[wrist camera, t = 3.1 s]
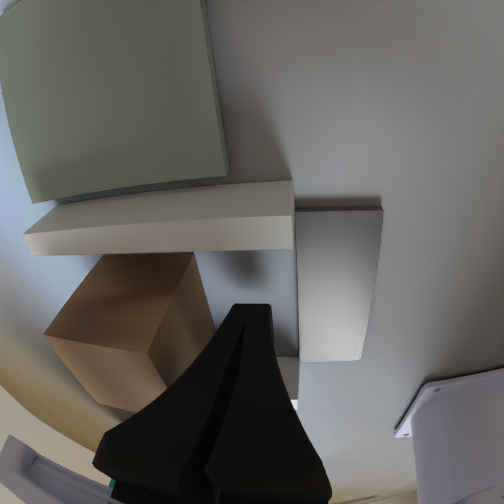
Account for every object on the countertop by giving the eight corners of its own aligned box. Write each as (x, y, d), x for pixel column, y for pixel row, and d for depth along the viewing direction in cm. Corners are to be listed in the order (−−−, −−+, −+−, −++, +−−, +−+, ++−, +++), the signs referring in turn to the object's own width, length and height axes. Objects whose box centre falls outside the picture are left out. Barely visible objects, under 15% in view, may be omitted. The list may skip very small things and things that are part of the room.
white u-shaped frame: (383, 178, 9) (405, 213, 7) (356, 366, 15) (360, 407, 13) (57, 205, 12) (22, 234, 9) (130, 355, 17) (114, 388, 15)
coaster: (194, -76, 5) (189, -82, 4) (230, 169, 10) (225, 176, 9) (4, 20, 7) (-6, 21, 6) (40, 197, 11) (32, 203, 11)
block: (194, 252, 12) (146, 353, 8) (216, 330, 14) (189, 422, 10) (103, 254, 13) (43, 334, 9) (135, 325, 15) (97, 402, 11)
